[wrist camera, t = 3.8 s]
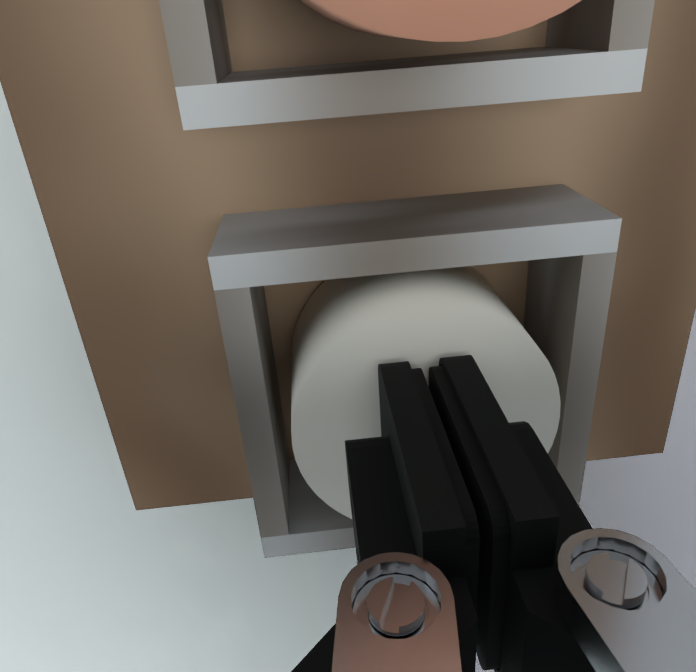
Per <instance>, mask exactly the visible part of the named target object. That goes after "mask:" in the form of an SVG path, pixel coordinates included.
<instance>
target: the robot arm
mask: <svg viewBox="0 0 696 672" xmlns="http://www.w3.org/2000/svg"><path fill="white" fill-rule="evenodd" d="M378 383H379V401H380V420H381V437H373V438H363V439H354V440H345V451H346V463H347V474H348V484H349V494H350V504H351V513H352V521H353V530H354V538H355V546H356V554H357V562H358V565H357V566H355V567H354V568H353V569H351V571H350V572H349V574H348V575H347V577H346V578H345V579H344V581H343V582H342V586H341V590H340V593H339V597H338V607H337V618H336V624H335V625H334V626H333V627H332V628H331V629H330V630H329V631H328V632H327V634H326V635H325V636H324V637H323V638H322V639H321V640H320V641H319V642H318V643H317V644H316V645H315V647H314V648H313V649H312V650H311V651H310V652H309V653H308V654H307V655H306V656H305V657H304V658H303V660H302V661H301V662H300V663H299V664H298V665H297V666H296V667H295V668H294V669H293V670H292V672H475V662H476V652H477V655H478V659H479V662H480V665H481V667H482V669H483V670H490V669H494V671H495V672H696V589H695V588H694V587H693V586H692V585H691V584H690V583H689V582H688V581H687V579H686V578H685V577H684V576H683V575H682V574H681V573H680V572H679V571H678V570H677V568H676V567H675V566H674V565H673V564H672V563H671V562H670V561H669V560H668V559H667V558H666V557H665V556H664V555H663V554H662V553H661V552H660V551H658V550H657V549H656V548H655V547H654V546H653V545H651V544H649V543H647V542H646V541H644V540H642V539H640V538H638V537H637V536H634V535H631V534H628V533H625V532H622V531H619V530H612V529H603V528H598V529H592V527H591V525H590V524H589V522H588V520H587V519H586V517H585V515H584V514H583V512H582V510H581V509H580V507H579V505H578V504H577V502H576V500H575V499H574V497H573V495H572V494H571V492H570V490H569V489H568V487H567V485H566V483H565V482H564V480H563V478H562V477H561V475H560V473H559V472H558V470H557V468H556V467H555V465H554V463H553V462H552V460H551V458H550V457H549V455H548V453H547V452H546V450H545V448H544V447H543V445H542V443H541V442H540V440H539V438H538V437H537V435H536V433H535V431H534V430H533V428H532V427H531V426H530V424H529V423H527V422H525V421H521V422H512V423H509V422H508V420H507V419H506V417H505V415H504V413H503V411H502V409H501V407H500V406H499V404H498V402H497V400H496V398H495V396H494V395H493V393H492V391H491V389H490V387H489V385H488V384H487V382H486V380H485V378H484V376H483V374H482V373H481V371H480V369H479V367H478V365H477V363H476V362H475V360H474V358H473V357H472V355H463V356H453V357H443V358H440V359H439V366H433V367H430V368H429V387H428V384H427V381H426V379H425V376H424V373H423V371H422V369H421V368H414V369H411V366H410V363H409V361H404V362H395V363H385V364H378Z"/></svg>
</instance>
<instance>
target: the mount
mask: <svg viewBox="0 0 696 672" xmlns="http://www.w3.org/2000/svg"><path fill="white" fill-rule="evenodd" d="M0 82H1V85H2V88H3V91H4V94H5V98H6V101H7V104H8V107H9V110H10V113H11V117H12V120H13V123H14V126H15V129H16V132H17V136H18V139H19V142H20V145H21V148H22V151H23V154H24V158H25V161H26V164H27V167H28V170H29V173H30V177H31V180H32V183H33V186H34V189H35V192H36V196H37V199H38V202H39V205H40V208H41V211H42V214H43V218H44V221H45V224H46V227H47V230H48V233H49V237H50V240H51V243H52V246H53V249H54V252H55V256H56V259H57V262H58V265H59V268H60V271H61V274H62V278H63V281H64V284H65V287H66V290H67V293H68V297H69V300H70V303H71V306H72V309H73V312H74V316H75V319H76V322H77V325H78V328H79V331H80V335H81V338H82V341H83V344H84V347H85V350H86V353H87V357H88V360H89V363H90V366H91V369H92V372H93V376H94V379H95V382H96V385H97V388H98V391H99V395H100V398H101V401H102V404H103V407H104V410H105V413H106V417H107V420H108V423H109V426H110V429H111V432H112V436H113V439H114V442H115V445H116V448H117V451H118V455H119V458H120V461H121V464H122V467H123V470H124V474H125V477H126V480H127V483H128V486H129V489H130V492H131V496H132V499H133V502H134V505H135V508H136V510H143V509H152V508H162V507H171V506H180V505H189V504H198V503H207V502H216V501H225V500H234V499H244V498H253V499H254V504H255V509H256V515H257V520H258V525H259V530H260V536H261V541H262V546H263V551H264V557H265V558H266V557H275V556H284V555H293V554H301V553H310V552H319V551H328V550H337V549H345V548H354V547H356V546H355V538H354V530H353V521H352V519H351V518H349V517H347V516H345V515H343V514H341V513H339V512H337V511H336V510H334V509H333V508H332V507H330V506H329V505H327V504H326V503H325V502H324V501H323V500H322V499H320V498H319V497H318V496H317V495H316V494H315V492H314V491H313V490H312V489H311V488H310V486H309V485H308V484H307V482H306V481H305V479H304V477H303V476H302V474H301V472H300V470H299V468H298V465H297V463H296V460H295V456H294V452H293V448H292V437H291V369H292V341H293V335H294V331H295V327H296V324H297V321H298V319H299V316H300V314H301V312H302V310H303V308H304V306H305V305H306V303H307V301H308V300H309V298H310V297H311V296H312V295H313V293H314V292H315V291H316V289H317V288H318V287H319V286H320V285H321V284H322V283H323V282H324V281H325V280H329V279H339V278H350V277H360V276H371V275H381V274H392V273H402V272H412V271H423V270H433V269H444V268H454V267H465V266H471V267H473V268H474V269H475V270H477V271H478V272H479V273H480V274H481V275H482V276H483V277H484V278H485V279H486V280H487V281H488V282H489V283H490V284H491V286H492V287H493V288H494V290H495V291H496V292H497V293H498V295H499V296H500V297H501V299H502V300H503V301H504V303H505V304H506V305H507V307H508V308H509V309H510V310H511V312H512V313H513V314H514V316H515V317H516V318H517V320H518V321H519V322H520V324H521V325H522V326H523V327H524V329H525V330H526V331H527V333H528V334H529V335H530V337H531V338H532V339H533V341H534V342H535V343H536V344H537V346H538V347H539V348H540V350H541V351H542V353H543V354H544V355H545V357H546V358H547V360H548V361H549V363H550V365H551V367H552V369H553V371H554V374H555V377H556V380H557V383H558V387H559V393H560V402H561V405H560V419H559V424H558V430H557V433H556V436H555V439H554V442H553V445H552V447H551V449H550V451H549V452H548V455H549V457H550V458H551V460H552V462H553V463H554V465H555V467H556V468H557V470H558V472H559V473H560V475H561V477H562V478H563V480H564V482H565V483H566V485H567V487H568V489H569V490H570V492H571V494H572V495H573V497H574V499H575V500H576V502H577V504H578V505H579V502H580V495H581V489H582V482H583V475H584V469H585V462H586V461H590V460H599V459H608V458H617V457H626V456H635V455H644V454H654V453H663V450H664V446H665V441H666V437H667V432H668V428H669V424H670V419H671V415H672V410H673V406H674V401H675V397H676V393H677V388H678V384H679V379H680V375H681V370H682V366H683V362H684V357H685V353H686V348H687V344H688V339H689V335H690V331H691V326H692V322H693V317H694V313H695V308H696V0H582V1H580V2H578V3H577V4H575V5H574V6H572V7H570V8H569V9H567V10H565V11H564V12H562V13H560V14H558V15H556V16H554V17H551V18H549V19H547V20H545V21H543V22H540V23H538V24H536V25H534V26H532V27H529V28H525V29H522V30H519V31H516V32H512V33H509V34H506V35H502V36H499V37H493V38H486V39H480V40H473V41H467V42H433V41H423V40H414V39H405V38H396V37H388V36H381V35H374V34H368V33H364V32H361V31H358V30H354V29H351V28H348V27H345V26H343V25H341V24H339V23H337V22H334V21H332V20H330V19H328V18H326V17H324V16H323V15H321V14H320V13H318V12H316V11H315V10H313V9H312V8H310V7H309V6H307V5H306V4H304V3H303V2H302V1H301V0H0Z"/></svg>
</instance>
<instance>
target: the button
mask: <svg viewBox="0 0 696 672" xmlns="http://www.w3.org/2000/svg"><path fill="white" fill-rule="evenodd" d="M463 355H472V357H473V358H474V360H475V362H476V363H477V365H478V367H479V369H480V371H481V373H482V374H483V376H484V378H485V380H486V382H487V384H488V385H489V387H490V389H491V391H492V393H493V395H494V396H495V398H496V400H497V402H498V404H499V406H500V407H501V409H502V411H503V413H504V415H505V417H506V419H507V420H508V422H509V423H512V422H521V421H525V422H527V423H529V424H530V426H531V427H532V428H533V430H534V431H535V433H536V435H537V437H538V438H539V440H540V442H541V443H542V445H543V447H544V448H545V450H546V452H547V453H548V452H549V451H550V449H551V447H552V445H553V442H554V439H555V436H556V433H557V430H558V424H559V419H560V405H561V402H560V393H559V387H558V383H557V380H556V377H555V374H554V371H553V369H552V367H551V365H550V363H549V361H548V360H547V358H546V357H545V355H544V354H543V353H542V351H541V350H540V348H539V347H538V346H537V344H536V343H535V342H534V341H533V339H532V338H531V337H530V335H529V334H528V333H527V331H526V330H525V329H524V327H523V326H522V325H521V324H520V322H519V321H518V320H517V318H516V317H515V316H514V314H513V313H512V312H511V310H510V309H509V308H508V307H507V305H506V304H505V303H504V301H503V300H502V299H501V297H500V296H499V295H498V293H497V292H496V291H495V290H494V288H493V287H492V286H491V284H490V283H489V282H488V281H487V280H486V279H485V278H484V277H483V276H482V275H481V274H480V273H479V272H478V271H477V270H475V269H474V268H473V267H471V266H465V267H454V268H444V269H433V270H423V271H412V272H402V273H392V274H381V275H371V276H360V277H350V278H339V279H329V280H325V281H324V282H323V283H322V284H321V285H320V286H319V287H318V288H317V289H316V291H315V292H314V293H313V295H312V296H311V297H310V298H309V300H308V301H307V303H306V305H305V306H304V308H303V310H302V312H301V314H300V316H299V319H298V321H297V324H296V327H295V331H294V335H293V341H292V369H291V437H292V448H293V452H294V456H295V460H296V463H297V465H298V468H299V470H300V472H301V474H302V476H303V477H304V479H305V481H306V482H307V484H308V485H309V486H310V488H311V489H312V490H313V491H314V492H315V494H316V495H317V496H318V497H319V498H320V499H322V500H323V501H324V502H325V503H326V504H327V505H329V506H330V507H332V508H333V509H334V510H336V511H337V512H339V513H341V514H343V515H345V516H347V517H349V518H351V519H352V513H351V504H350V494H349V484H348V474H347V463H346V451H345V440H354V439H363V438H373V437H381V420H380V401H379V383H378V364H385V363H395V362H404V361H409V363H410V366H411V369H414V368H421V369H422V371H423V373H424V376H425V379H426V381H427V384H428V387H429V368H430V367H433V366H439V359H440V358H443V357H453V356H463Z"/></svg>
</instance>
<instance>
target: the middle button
mask: <svg viewBox="0 0 696 672" xmlns="http://www.w3.org/2000/svg"><path fill="white" fill-rule="evenodd" d="M301 1H302V2H303V3H304V4H306V5H307V6H309V7H310V8H312V9H313V10H315V11H316V12H318V13H320V14H321V15H323V16H324V17H326V18H328V19H330V20H332V21H334V22H337V23H339V24H341V25H343V26H345V27H348V28H351V29H354V30H358V31H361V32H364V33H368V34H374V35H381V36H388V37H396V38H405V39H414V40H423V41H433V42H467V41H473V40H480V39H486V38H493V37H499V36H502V35H506V34H509V33H512V32H516V31H519V30H522V29H525V28H529V27H532V26H534V25H536V24H538V23H540V22H543V21H545V20H547V19H549V18H551V17H554V16H556V15H558V14H560V13H562V12H564V11H565V10H567V9H569V8H570V7H572V6H574V5H575V4H577V3H578V2H580V1H582V0H301Z"/></svg>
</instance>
